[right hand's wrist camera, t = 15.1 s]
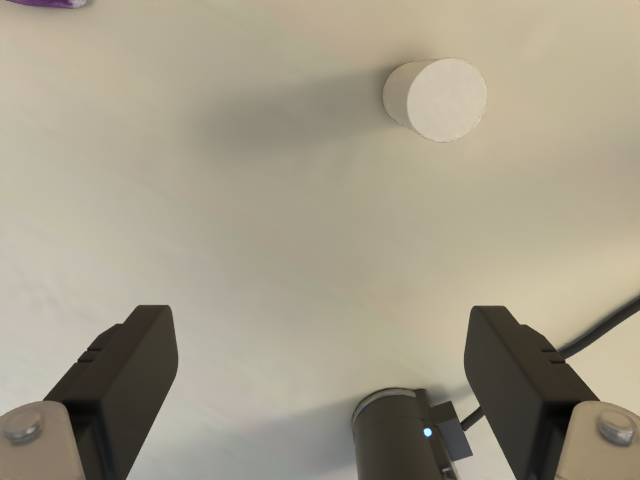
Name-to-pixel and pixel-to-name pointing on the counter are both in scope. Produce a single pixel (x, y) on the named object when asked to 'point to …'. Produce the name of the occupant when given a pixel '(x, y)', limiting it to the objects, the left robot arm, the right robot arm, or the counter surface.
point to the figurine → (52, 3)
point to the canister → (436, 98)
